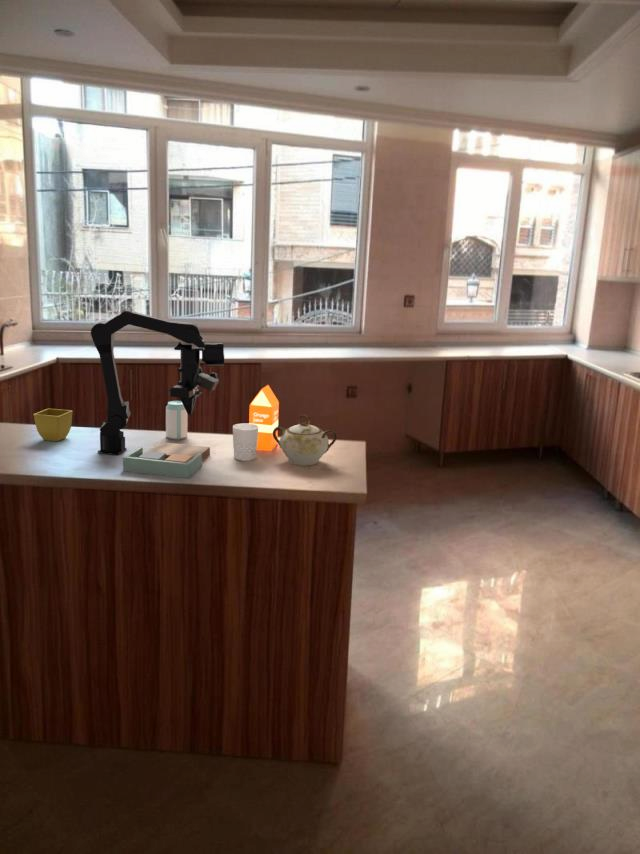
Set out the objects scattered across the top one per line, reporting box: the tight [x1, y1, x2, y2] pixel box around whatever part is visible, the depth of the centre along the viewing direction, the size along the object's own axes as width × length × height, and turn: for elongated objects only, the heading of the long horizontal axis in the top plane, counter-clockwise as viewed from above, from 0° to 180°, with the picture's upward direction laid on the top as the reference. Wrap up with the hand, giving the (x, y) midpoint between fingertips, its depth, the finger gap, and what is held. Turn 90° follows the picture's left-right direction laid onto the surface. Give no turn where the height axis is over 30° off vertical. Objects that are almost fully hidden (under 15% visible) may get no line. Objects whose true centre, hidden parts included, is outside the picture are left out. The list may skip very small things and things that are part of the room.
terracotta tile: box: [165, 454, 193, 463], centre depth 192 cm, size 6×6×2 cm
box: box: [122, 446, 203, 479], centre depth 190 cm, size 19×11×4 cm, turn 80°
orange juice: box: [248, 384, 280, 452], centre depth 215 cm, size 8×9×20 cm
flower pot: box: [33, 408, 73, 442], centre depth 212 cm, size 9×9×9 cm
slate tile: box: [138, 450, 166, 461], centre depth 193 cm, size 6×6×2 cm
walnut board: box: [147, 441, 211, 462], centre depth 201 cm, size 16×12×2 cm
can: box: [165, 400, 188, 440], centre depth 221 cm, size 7×7×12 cm
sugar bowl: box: [273, 414, 337, 467], centre depth 202 cm, size 20×15×15 cm
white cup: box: [232, 422, 259, 462], centre depth 204 cm, size 8×8×10 cm
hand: (189, 414), depth 205 cm, fingers closed
